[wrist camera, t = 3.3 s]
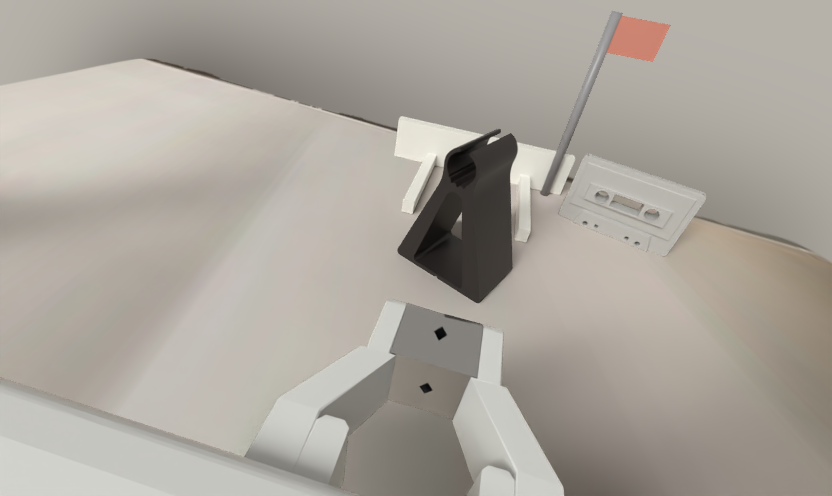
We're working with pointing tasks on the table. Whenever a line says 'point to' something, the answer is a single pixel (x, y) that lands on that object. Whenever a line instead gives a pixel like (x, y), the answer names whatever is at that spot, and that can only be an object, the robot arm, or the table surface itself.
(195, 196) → the table surface
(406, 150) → the flag on white base
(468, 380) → the robot arm
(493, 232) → the phone stand
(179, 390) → the table surface
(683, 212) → the cassette
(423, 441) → the table surface
